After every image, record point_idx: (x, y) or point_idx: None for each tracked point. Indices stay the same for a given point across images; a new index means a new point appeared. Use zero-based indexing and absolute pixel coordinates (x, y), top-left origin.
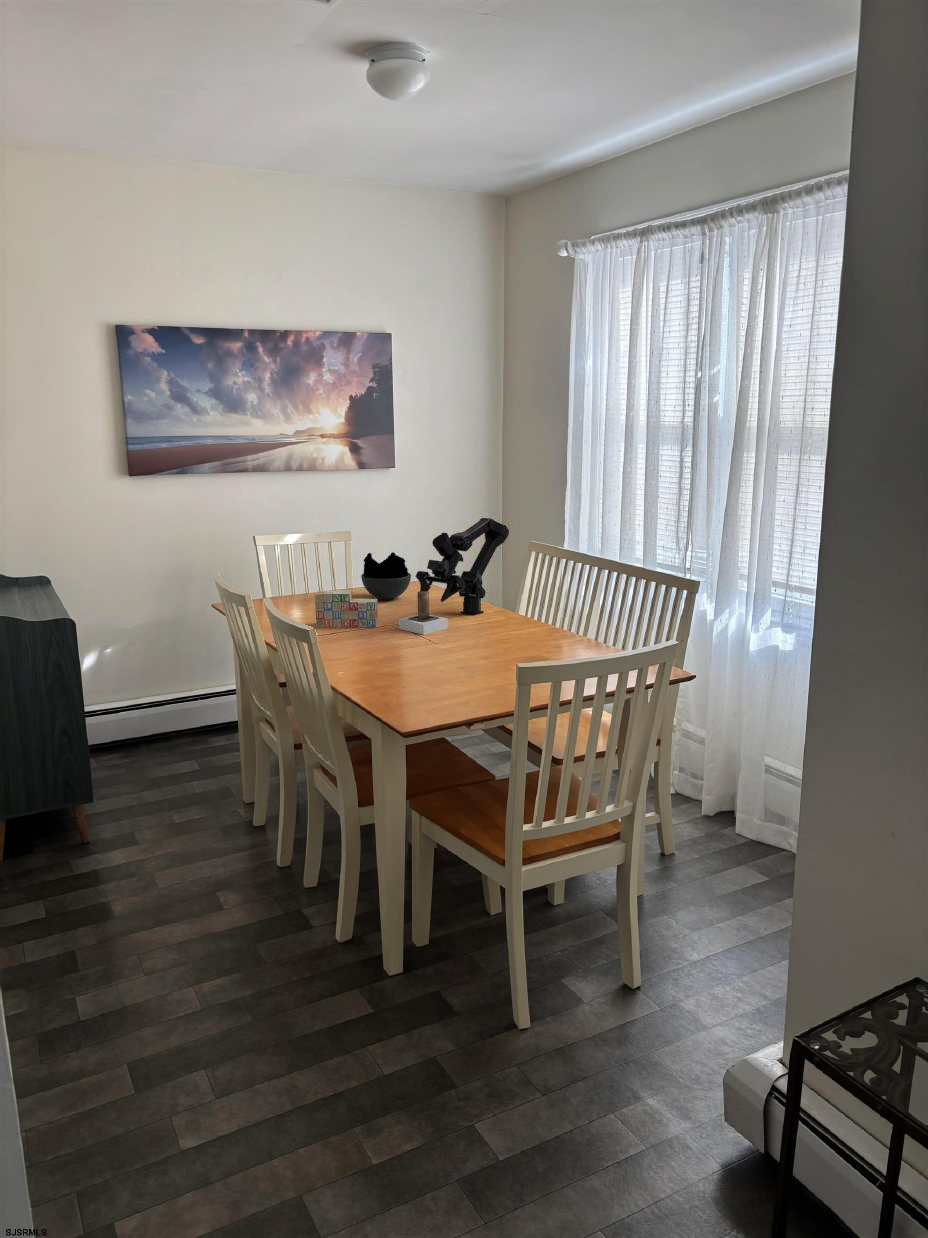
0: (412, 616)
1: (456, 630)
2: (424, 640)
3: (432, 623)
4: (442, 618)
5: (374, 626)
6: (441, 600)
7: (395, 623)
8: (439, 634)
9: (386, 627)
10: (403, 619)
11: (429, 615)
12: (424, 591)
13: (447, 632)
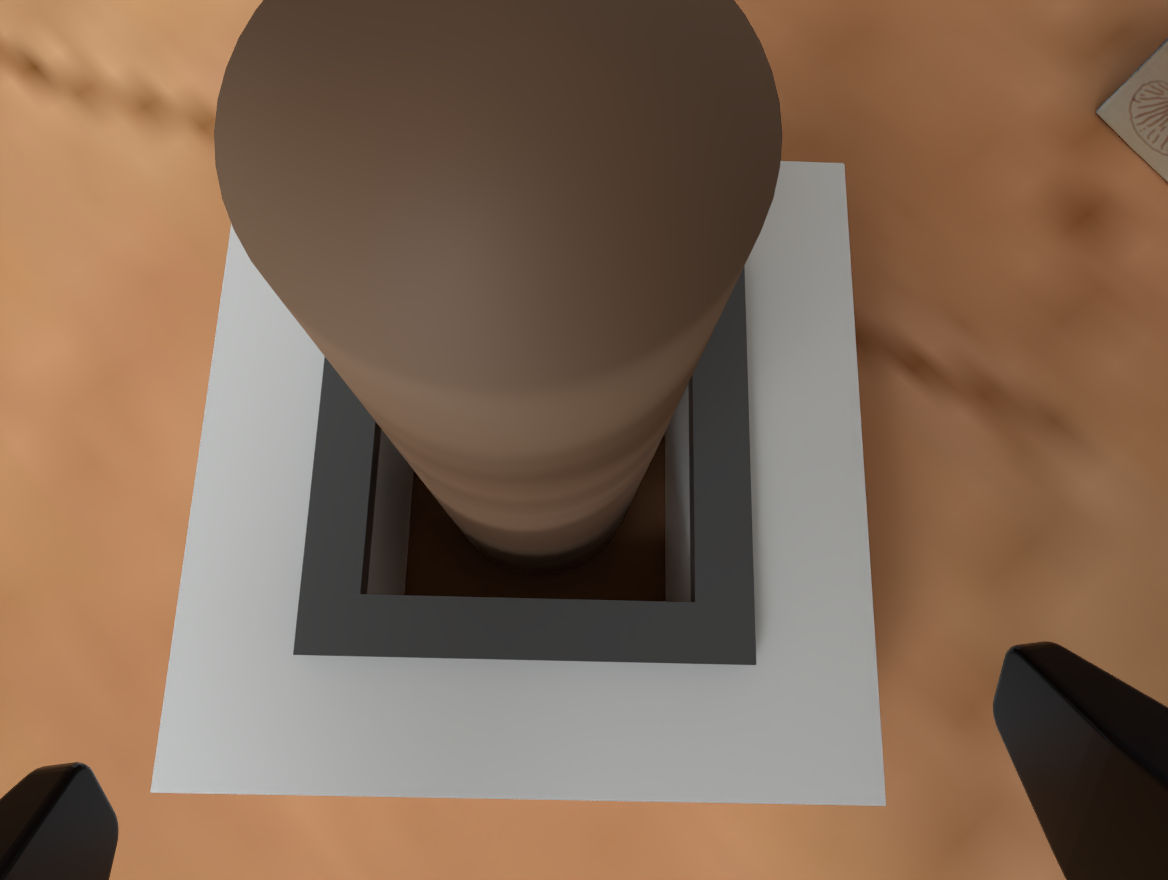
0: (842, 458)
1: (22, 754)
2: (92, 30)
3: (222, 355)
4: (252, 723)
5: (1112, 94)
6: (39, 770)
7: (1119, 456)
8: (110, 377)
9: (1002, 206)
10: (778, 194)
11: (571, 658)
12: (602, 304)
13: (76, 548)
